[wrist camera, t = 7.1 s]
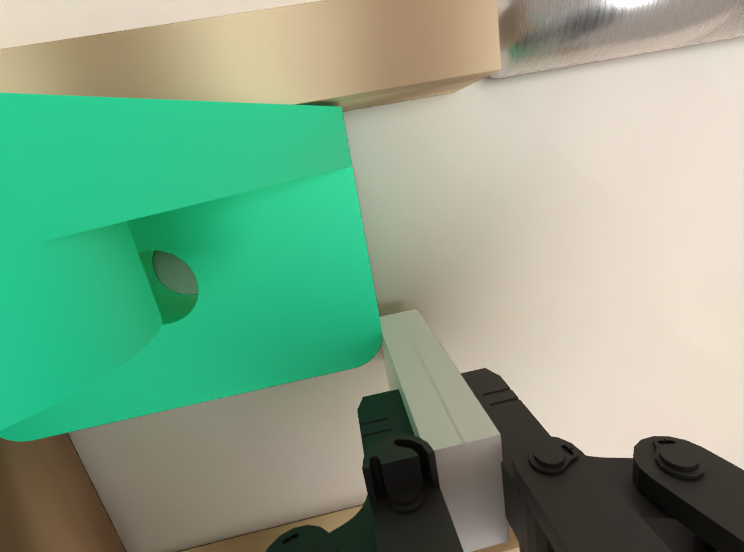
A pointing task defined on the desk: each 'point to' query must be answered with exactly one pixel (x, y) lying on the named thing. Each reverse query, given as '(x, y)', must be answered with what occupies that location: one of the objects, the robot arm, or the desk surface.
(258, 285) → the camera mount
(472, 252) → the desk surface
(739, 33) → the shaft stub
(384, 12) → the u-shaped wooden frame
